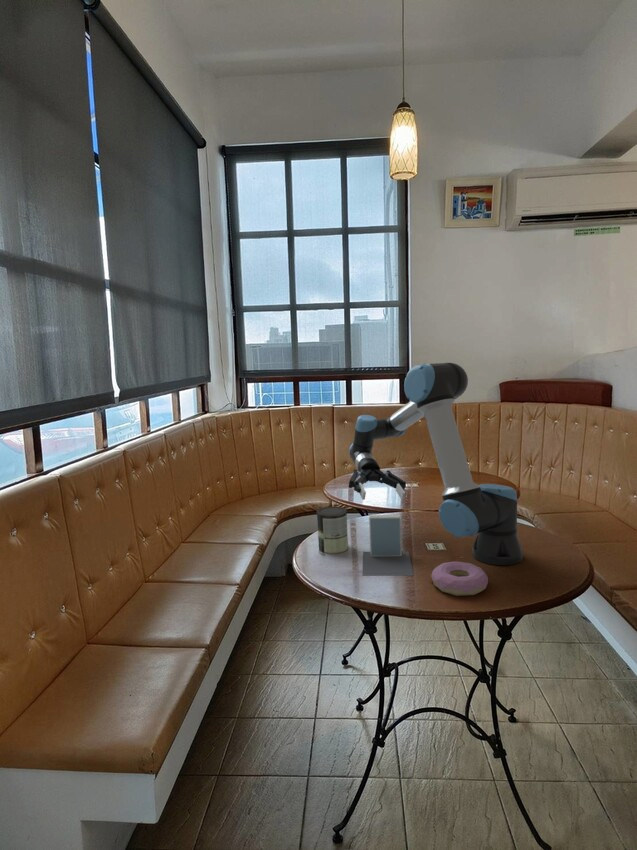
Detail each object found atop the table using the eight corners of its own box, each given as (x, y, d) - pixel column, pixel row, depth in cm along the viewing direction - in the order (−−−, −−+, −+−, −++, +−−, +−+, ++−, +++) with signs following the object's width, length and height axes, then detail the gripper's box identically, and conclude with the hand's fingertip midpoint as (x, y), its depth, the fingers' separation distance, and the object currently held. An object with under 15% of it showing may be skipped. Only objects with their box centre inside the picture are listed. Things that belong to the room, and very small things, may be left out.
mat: (408, 553, 167) (408, 551, 167) (413, 577, 148) (413, 575, 148) (363, 553, 169) (363, 551, 169) (362, 578, 150) (362, 575, 150)
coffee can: (312, 552, 172) (310, 512, 171) (330, 543, 180) (329, 504, 178) (336, 558, 166) (334, 517, 164) (354, 548, 174) (352, 509, 172)
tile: (401, 553, 166) (400, 514, 164) (401, 556, 163) (400, 517, 161) (370, 553, 167) (369, 515, 165) (370, 556, 164) (369, 517, 162)
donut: (456, 570, 153) (456, 554, 152) (499, 587, 140) (499, 570, 139) (420, 585, 144) (419, 568, 143) (463, 605, 131) (463, 586, 131)
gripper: (397, 476, 189) (417, 506, 170) (333, 474, 184) (345, 505, 165) (401, 458, 186) (421, 487, 167) (335, 456, 181) (349, 485, 162)
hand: (384, 496), depth 166 cm, fingers open, 13 cm apart
